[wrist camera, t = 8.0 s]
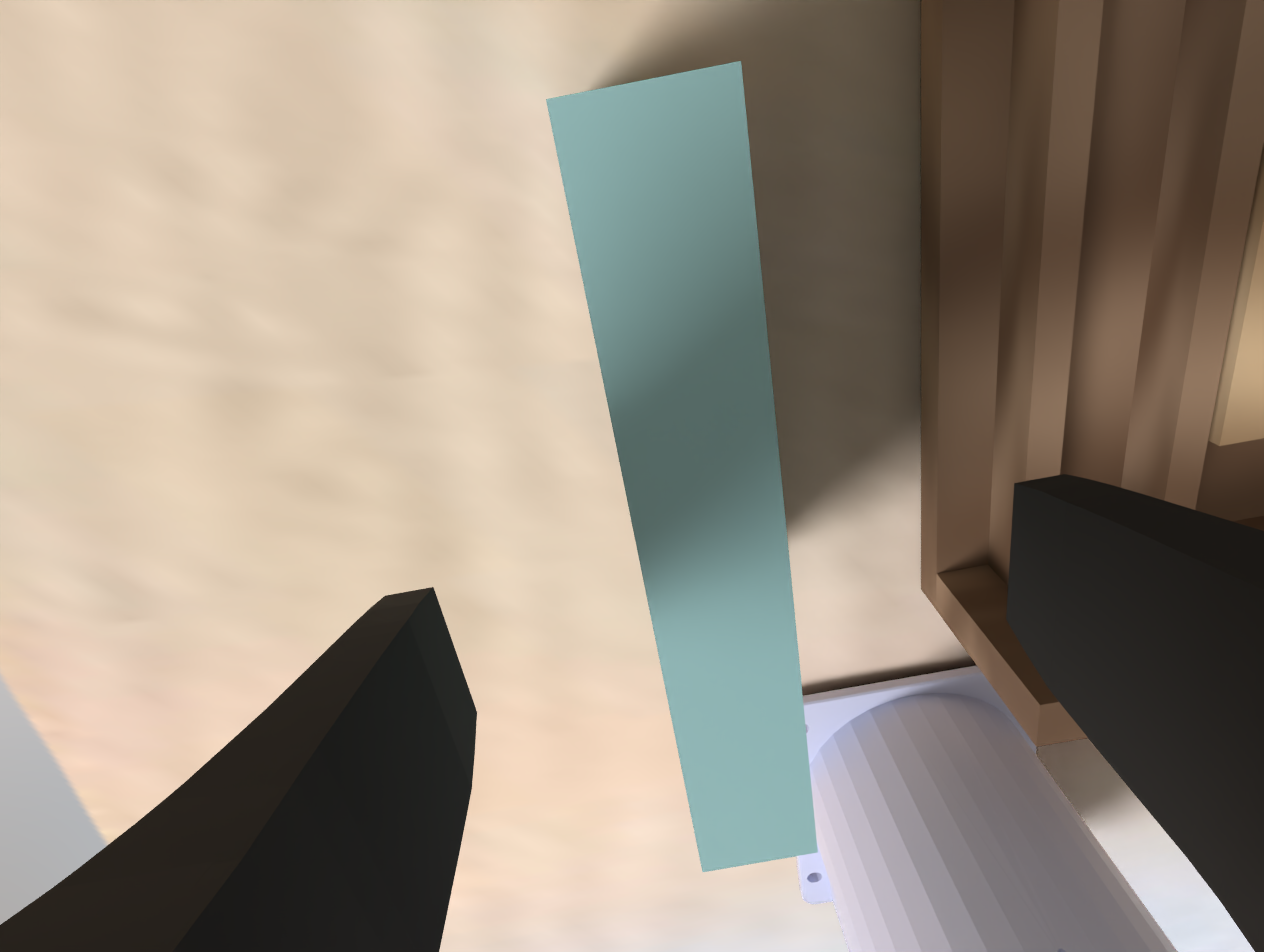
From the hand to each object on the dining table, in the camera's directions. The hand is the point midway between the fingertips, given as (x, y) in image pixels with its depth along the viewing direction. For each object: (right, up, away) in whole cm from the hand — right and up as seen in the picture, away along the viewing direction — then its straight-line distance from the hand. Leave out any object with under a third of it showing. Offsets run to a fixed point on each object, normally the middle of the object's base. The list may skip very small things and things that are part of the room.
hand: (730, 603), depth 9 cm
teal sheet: (-1, +4, +9) cm, 10 cm away
